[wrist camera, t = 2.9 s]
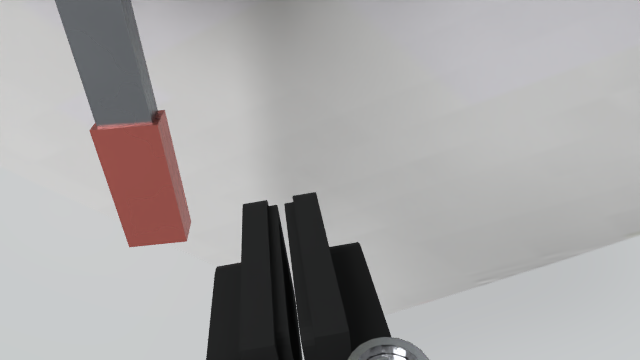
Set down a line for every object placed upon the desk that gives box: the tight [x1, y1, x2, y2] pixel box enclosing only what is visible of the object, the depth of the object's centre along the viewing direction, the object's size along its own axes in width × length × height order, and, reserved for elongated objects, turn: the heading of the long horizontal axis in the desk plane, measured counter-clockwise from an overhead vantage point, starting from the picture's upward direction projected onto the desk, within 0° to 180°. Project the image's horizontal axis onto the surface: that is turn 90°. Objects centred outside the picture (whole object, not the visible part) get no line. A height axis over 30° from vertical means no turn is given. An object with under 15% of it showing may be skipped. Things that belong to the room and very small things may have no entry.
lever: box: [55, 0, 191, 247], centre depth 14 cm, size 16×3×1 cm, turn 2°
